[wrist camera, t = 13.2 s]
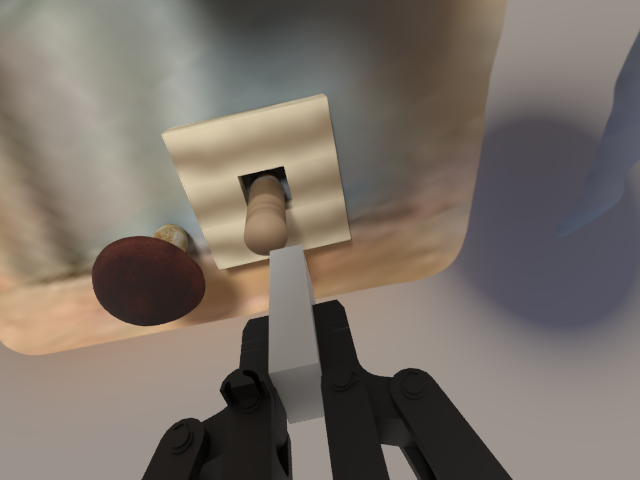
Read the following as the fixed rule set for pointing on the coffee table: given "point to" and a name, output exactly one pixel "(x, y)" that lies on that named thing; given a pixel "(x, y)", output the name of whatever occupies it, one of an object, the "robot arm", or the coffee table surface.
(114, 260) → the decorative mushroom
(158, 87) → the coffee table surface
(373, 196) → the coffee table surface
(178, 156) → the board
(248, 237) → the peg
